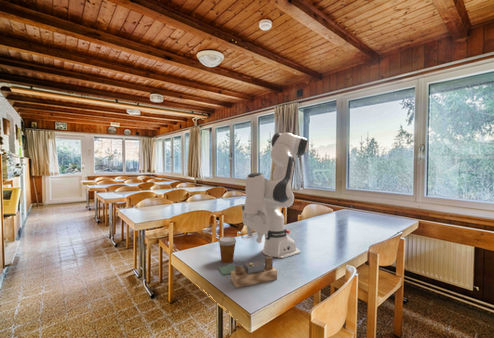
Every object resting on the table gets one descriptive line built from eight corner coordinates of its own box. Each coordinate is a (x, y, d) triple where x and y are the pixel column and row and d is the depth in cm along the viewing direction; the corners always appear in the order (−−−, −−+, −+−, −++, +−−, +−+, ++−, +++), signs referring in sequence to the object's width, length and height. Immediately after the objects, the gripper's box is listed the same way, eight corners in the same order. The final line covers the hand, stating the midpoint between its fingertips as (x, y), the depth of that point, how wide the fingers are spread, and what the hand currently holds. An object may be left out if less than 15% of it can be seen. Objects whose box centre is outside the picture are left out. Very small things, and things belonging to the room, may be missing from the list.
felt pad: (233, 265, 119) (233, 264, 119) (238, 272, 111) (238, 271, 111) (218, 268, 116) (218, 267, 116) (222, 275, 108) (222, 274, 108)
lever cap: (259, 267, 108) (259, 259, 108) (264, 271, 104) (264, 263, 104) (244, 270, 105) (244, 262, 105) (248, 274, 101) (248, 266, 101)
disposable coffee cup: (236, 257, 130) (236, 236, 130) (235, 264, 120) (236, 241, 120) (219, 257, 129) (219, 236, 129) (217, 264, 120) (217, 241, 120)
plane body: (269, 272, 112) (269, 254, 112) (277, 279, 105) (277, 259, 105) (229, 280, 104) (229, 260, 104) (234, 287, 97) (235, 266, 97)
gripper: (272, 212, 96) (271, 245, 96) (252, 204, 115) (251, 232, 115) (258, 213, 93) (258, 247, 94) (240, 205, 112) (239, 233, 112)
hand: (254, 239), depth 104 cm, fingers open, 8 cm apart
